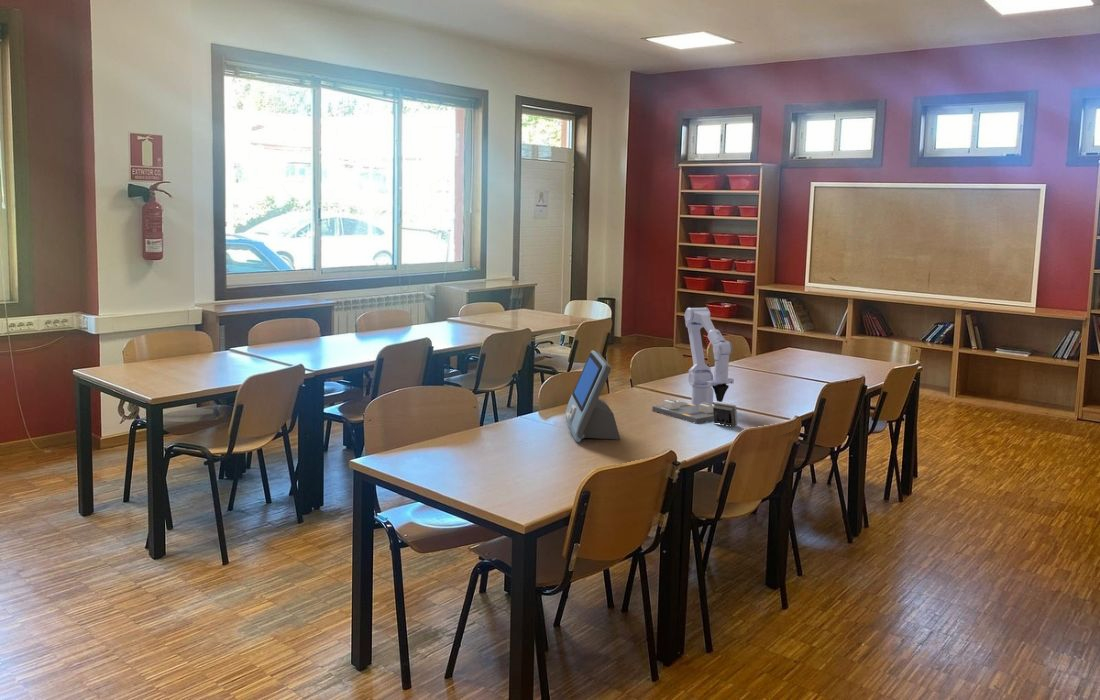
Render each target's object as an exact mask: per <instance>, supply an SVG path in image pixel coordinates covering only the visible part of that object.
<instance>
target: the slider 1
mask: <svg viewBox="0 0 1100 700" xmlns="http://www.w3.org/2000/svg"><path fill="white" fill-rule="evenodd" d="M680 402H681V401H680V400H677V399H672V398H667V399H665V400H664V399H663V403H662V405H663V407H664V408H668V409H671V410H672V409H678V408H680Z"/></svg>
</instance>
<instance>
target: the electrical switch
mask: <svg viewBox="0 0 1100 700" xmlns="http://www.w3.org/2000/svg"><path fill="white" fill-rule="evenodd" d="M713 405H714V408H713V412H714V420H713V424H714V423H720V424H724V423H725V425H731V426H732V427H735V426H734V425H736V426H737V425H738V414H737V412H738V411H737V405H736V404H732V403H731V404H730V403H724V402H718V401H715V402H713Z"/></svg>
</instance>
